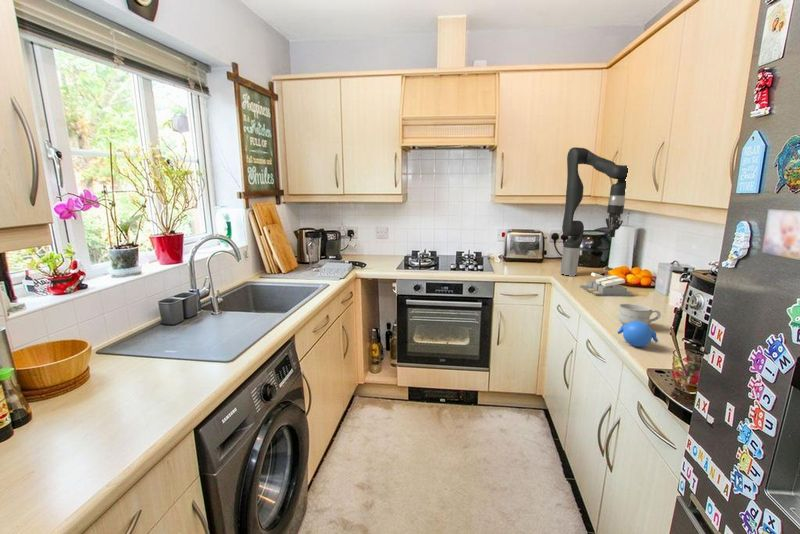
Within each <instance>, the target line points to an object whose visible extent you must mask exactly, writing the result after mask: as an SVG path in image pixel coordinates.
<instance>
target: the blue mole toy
mask: <svg viewBox="0 0 800 534" xmlns="http://www.w3.org/2000/svg"><path fill="white" fill-rule="evenodd" d="M617 334H618V335H620V334H622V337H623V338H624V341H626V343H627V344H629V345H631V346H633V347H637V348H639V347H640V348H641V347H646V346H647V345H649V344H651V342H652V340H653V341H654V342H655V343H657V342H658V341H659V339H658V337H657V332H656V331H655V330H653V329H652V328H651V327H650V326H649V324H645V323H643V322H640V321H633V322H630V323H628V324H627V325H623V324H622V325H621V326H620V328H619V330H617ZM658 343H659V342H658Z"/></svg>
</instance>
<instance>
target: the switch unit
mask: <svg viewBox="0 0 800 534" xmlns="http://www.w3.org/2000/svg"><path fill="white" fill-rule="evenodd" d="M579 288H581V289H582V288H583V290H584V289H585V290H584V291H586V290H587V291H586V292H588V293H589V294H591V293H592V295H593V294H594V296H595V297H635V294H634V293H631V292H629V291H628V288H627V287H625V286H622V285H620V284H616V285H611V286H607V287H605V286H603V285H601V284H598V283H596V279H595V280H590V279H588V280H587V285H584V284H583V285H582V284H581V285H579Z"/></svg>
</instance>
